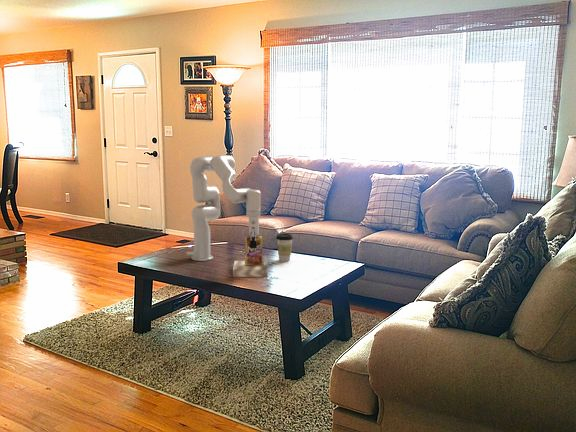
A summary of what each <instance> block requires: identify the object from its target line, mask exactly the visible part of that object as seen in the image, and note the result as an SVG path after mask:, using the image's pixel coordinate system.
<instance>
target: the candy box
mask: <svg viewBox="0 0 576 432" xmlns="http://www.w3.org/2000/svg"><path fill="white" fill-rule="evenodd" d="M244 238H245V239H244V261H245V265H262V261H263V236H262V235H259V236H258V235H256V248H250V241H251V235H250V236H249V235H247V236H244Z"/></svg>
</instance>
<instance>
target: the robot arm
mask: <svg viewBox="0 0 576 432" xmlns="http://www.w3.org/2000/svg"><path fill="white" fill-rule="evenodd" d="M189 166H190V168H189V169H190V170H189V171H190V174H191V180H192V192H193V194H192V195H193V200H194V202H195V203H198V204H201V205H196V206H195V207H193V208H192V210H191V218H192V223H193V250H192V251H186V255H187V256H191V260H193V261H198V262H204V261H210V260H213V259H214V256H213V254H212V253H211V227H210V225H209V223H208V221H214V220H218V219H219V217H220V216H221V196H220V191H219V188H217V186H216V185H208V177H207V175H206V172H214V173H215V174H216V175H217V177H218V178H219V179H220V180H221V181H222V185H221V186H222V187H221V188H222V191H223V194H224V195H225V197H226V198H227V199H228V201H230V202H231V203H232V204H240V203H246V208H245V209H246V211H245V212H246V213H245V214H246V217H248V234H249V235H250V236H251V241H250V248H256V236H258V235H259V233H260V232H259V231H260V217H261V214H262V213H261V210H262V209H261V207H262V206H261V205H262V203H261V202H262V201H261V199H262V198H261V196H262V195H261V191H260V190H259V189H252V188H251V187H241V188H235V187H234V186H233V184H232V182H233V181H234V180H235V179H236V177H237V173H236V171H235V170H234V168H235V166H236V161H235V159H234V157H233V156H231V155H228V154H226V155H211V156H210V155H209V156H207V155H206V156H199V157H195V158H192V161H191V162H190V165H189ZM203 203H207V204H203ZM249 235H248V236H249ZM259 236H260V235H259Z"/></svg>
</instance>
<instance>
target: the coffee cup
mask: <svg viewBox="0 0 576 432" xmlns="http://www.w3.org/2000/svg"><path fill="white" fill-rule="evenodd" d="M275 239H276V245H277V254H278V260H279V262H284V263H285V262H287V263H288V262H290V261H291V254H292V248H293V239H294V237H293V235H292V234H291V233H290V234H289V233H279V234H277V236H276V238H275Z"/></svg>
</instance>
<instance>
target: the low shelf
mask: <svg viewBox="0 0 576 432" xmlns="http://www.w3.org/2000/svg"><path fill="white" fill-rule="evenodd" d="M232 267H233V268H232V277H234V278H235V277H237V278H238V277H239V278H241V277H242V278H243V277H244V278H245V277H252V278H253V277H255V278H256V277H264V278H265V277H268V256H267V255H266V256H265V255H264V256H263V260H262V265H245V260H234V263H233V266H232Z"/></svg>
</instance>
